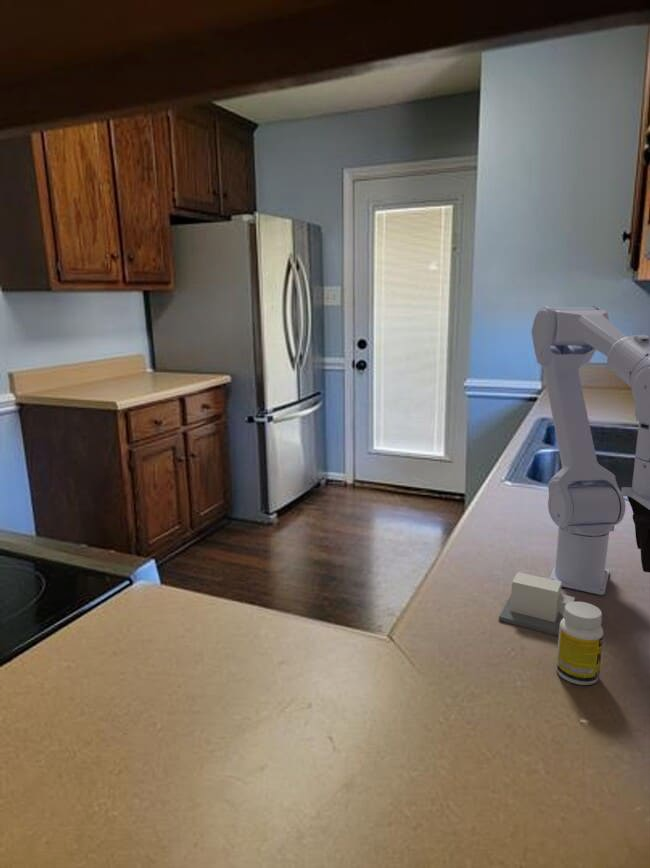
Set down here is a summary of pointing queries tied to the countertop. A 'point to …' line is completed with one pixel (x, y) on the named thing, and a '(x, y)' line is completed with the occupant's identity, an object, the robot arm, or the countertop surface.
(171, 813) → the countertop surface
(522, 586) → the block
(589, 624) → the supplement bottle
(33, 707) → the countertop surface
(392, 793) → the countertop surface
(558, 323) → the robot arm
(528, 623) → the coaster
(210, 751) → the countertop surface
